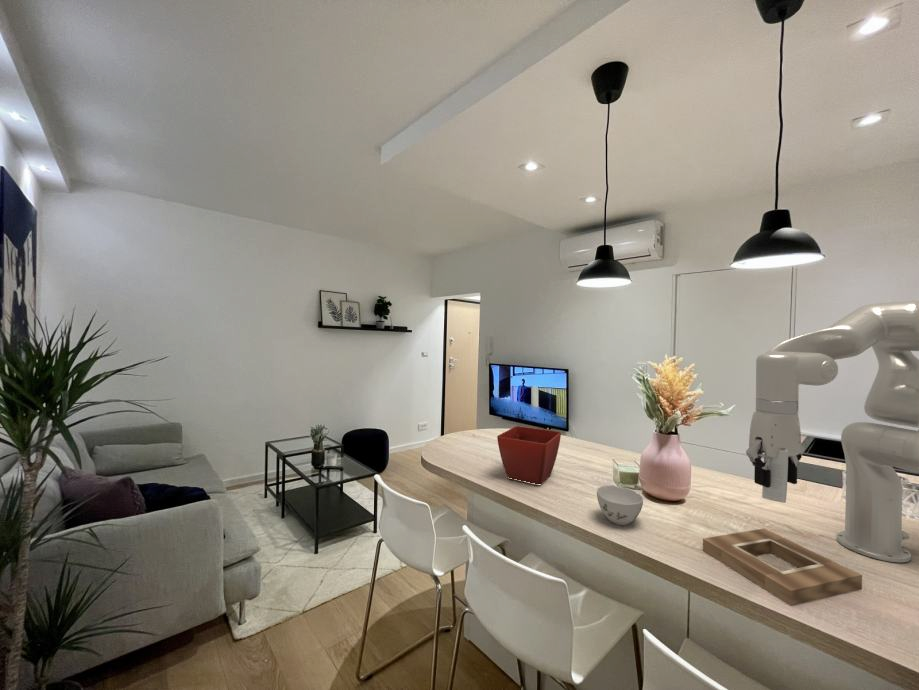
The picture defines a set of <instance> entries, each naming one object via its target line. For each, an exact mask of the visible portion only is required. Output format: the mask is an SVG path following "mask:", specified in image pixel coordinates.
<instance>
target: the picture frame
mask: <svg viewBox="0 0 919 690" xmlns="http://www.w3.org/2000/svg"><path fill="white" fill-rule="evenodd" d="M702 551H703V552H705V554H708V555H710V556H711V557H713V558H714V559H716V560H717V561H719V562H721V563H722V564H724V565H725V566H727V567H728V568H730V569H731V570H734V571H735V572H736V573H739V575H742V576H743V577H745V579H746V578H747V580H749V581H751V582H752V583H755V584H756V585H758V586H759V587H761V588H762V589H764V590H765V591H766V592H769V593H770V594H771V595H774V596H775V597H776V598H778V599H779V600H781V601H783V602H785V603H786V604H788V605H789V606H794V605H795V606H796V605H799V604H804V603H808V602H812V601H815V600H821V599H824V598H829V597H833V596H838V595H842V594H846V593H849V592H854V591H858V590H862V589H863V588H862V587H863V575H862V574H861V573H858V572H857V571H855V570H852V569H850V568H848V567H847V566H844V565H842V564H841V563H838V562H837V561H834V560H831V559H829V558H828V557H825V556H823V555H821V554H819V553H817V552H815V551H813V550H810V549H808V548H806V547H804V546H802V545H800V544H798V543H796V542H794V541H792V540H789V539H788V538H785V537H783V536H781V535H779V534H776V533H775V532H773V531H771V530H768V529H766V528H760V529H759V528H758V529H753V530H746V531H740V532H735V533H730V534H729V533H727V534H722V535H717V536H709V537H706V538H705V537H703V538H702ZM765 554H772V555H774V556H776V557H777V558H779V559H781V560H783V561H785V562H787V563H789V564H790V565H792V566H795V567H796V568H792V569H787V570H781V569H780V568H777V567H775V566H773V565H772V564H770V563H768V562H766V561H764V560H763V559H761V558H759V557H758V556H760V555H761V556H762V555H765Z"/></svg>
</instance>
